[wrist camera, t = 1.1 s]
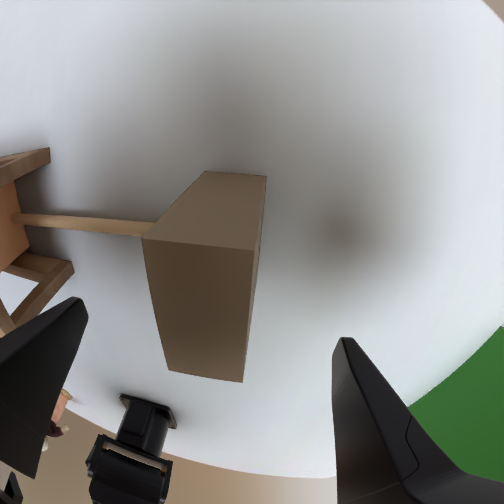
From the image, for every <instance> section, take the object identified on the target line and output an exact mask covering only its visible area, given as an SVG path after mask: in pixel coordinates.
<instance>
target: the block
mask: <svg viewBox="0 0 504 504" xmlns="http://www.w3.org/2000/svg"><path fill="white" fill-rule="evenodd" d="M266 178H267V176H259V175H248V174H236V173H223V172H207V171H205V172H204V173H203V174H202V175H201V176H200V177H199V178H198V179H197V180H196V181H195V182H194V183H193V184H192V185H191V186H190V187H189V188H188V189H187V190H186V191H185V192H184V193H183V194H182V195H181V196H180V197H179V198H178V199H177V200H176V201H175V202H174V203H173V204H172V205H171V206H170V207H169V208H168V209H167V211H166V212H165V213H164V214H163V215H162V216H161V217H160V218H159V219H158V220H157V221H156V222H155V223H153V222H141V221H129V220H116V219H103V218H89V217H75V216H59V215H43V214H25V213H21V212H20V208H19V203H18V198H17V193H16V188H15V183H14V180H13V181H11V182H9V183H8V184H6V185H4V186H2V187H0V273H1V272H2V271H3V270H4V269H5V268H6V267H7V266H8V265H9V264H10V263H11V262H12V261H13V260H15V259H16V258H17V257H18V256H19V255H20V254H21V253H22V252H24V251H25V250H26V249H27V248H28V247H29V246H30V245H29V242H28V238H27V235H26V231H25V228H24V225H32V226H42V227H52V228H62V229H72V230H82V231H91V232H101V233H111V234H120V235H130V236H140V237H142V238H141V239H142V247H143V253H144V260H145V266H146V272H147V278H148V283H149V289H150V294H151V299H152V304H153V308H154V313H155V318H156V322H157V326H158V331H159V335H160V339H161V343H162V347H163V351H164V355H165V358H166V362H167V366H168V369H169V370H170V371H175V372H179V373H184V374H190V375H195V376H201V377H206V378H212V379H219V380H226V381H233V382H241V383H243V375H244V368H245V361H246V354H247V346H248V339H249V332H250V324H251V317H252V310H253V302H254V294H255V287H256V279H257V270H258V260H259V250H260V240H261V230H262V220H263V210H264V199H265V189H266Z"/></svg>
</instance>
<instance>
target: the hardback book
mask: <svg viewBox="0 0 504 504" xmlns="http://www.w3.org/2000/svg"><path fill="white" fill-rule="evenodd" d="M407 408H408V409H409V410H410V412H411V413H412V414H411V415H413V416H414V417H415V418H416V420H417V421H418V422H419V424H420V425H421V426H422V427H423V429H424V430H425V431H426V432H427V434H428V435H429V436H430V437H431V438H432V439H433V440H434V442H435V443H436V444H437V445H438V446H439V447H440V448H441V449H442V450H443V451H444V452H445V453H446V455H447V456H448V457H449V458H450V459H451V460H452V461H453V462H454V463H455V464H456V465H457V466H458V467H459V468H460V469H462V470H463V471H465V472H467V473H469V474H473V475H476V476H480V477H484V478H488V479H492V480H497V481H501V482H504V328H503V327H502V326H500V327H499V329H498V330H497V331H496V332H495V333H494V334H493V335H492V336H491V337H490V338H489V339H488V340H487V341H486V342H485V343H484V344H483V345H482V346H481V347H480V348H479V349H478V350H477V351H476V352H475V353H474V354H473V355H472V356H471V357H470V358H469V359H468V360H467V361H466V362H465V363H464V364H463V365H461V366H460V367H459V368H458V369H457V370H456V371H455V372H453V373H452V374H451V375H450V376H449V377H447V378H446V379H445V380H444V381H443V382H441V383H440V384H439V385H438V386H436V387H435V388H434V389H432V390H431V391H430V392H428V393H427V394H426V395H424V396H423V397H422V398H420V399H419V400H418V401H416V402H415V403H413V404H412V405H410V406H409V407H407Z"/></svg>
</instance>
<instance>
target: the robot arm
mask: <svg viewBox="0 0 504 504" xmlns="http://www.w3.org/2000/svg"><path fill="white" fill-rule="evenodd" d="M87 322H88V313H87V310H86V307H85V305H84V302H83V300H82V299H81V298H78V297H70V298H68V299H67V300H65V301H63V302H61V303H59V304H58V305H56V306H54V307H52V308H50V309H49V310H47V311H45V312H43V313H42V314H40V315H38V316H36V317H35V318H33V319H31V320H29V321H28V322H26V323H24V324H23V325H21V326H19V327H18V328H16V329H14V330H13V331H11V332H9V333H8V334H6V335H4V336H3V337H1V338H0V504H21V503H22V500H23V496H22V493H21V490H20V488H19V485H18V482H17V479H16V476H15V473H13V472H12V471H11V470H12V468H14V469H15V470H17V471H19V472H21V473H23V474H24V475H26V476H28V477H30V478H33V479H35V476H36V472H37V468H38V463H39V459H40V455H41V452H42V448H43V444H44V441H45V437H46V434H47V430H48V427H49V424H50V421H51V418H52V415H53V412H54V409H55V406H56V403H57V401H58V398H59V395H60V393H61V390H62V387H63V385H64V382H65V380H66V377H67V375H68V372H69V370H70V368H71V365H72V363H73V361H74V358H75V356H76V353H77V351H78V348H79V345H80V342H81V339H82V336H83V333H84V330H85V328H86V325H87ZM119 398H120V400H121V401H122V403H123V404H124V406H125V407H126V411H125V414H124V416H123V419H122V421H121V424H120V427H119V429H118V432H117V435H116V438H115V440H114V439H112V438H110V437H107V435H105V434H103V435H100V434H98V437H97V440H96V442H95V444H94V447H93V448H92V450H91V452H90V454H89V456H88V458H87V460H86V462H85V463H86V466H87V467H88V477H90V478H92V480H91V483H90V487H89V493H90V496H91V499H92V501H93V504H164V502H165V500H166V497H167V493H168V488H169V482H170V476H171V470H172V464H173V461H170V460H165V459H162V458H160V456H161V452H162V448H163V445H164V441H165V438H166V434H167V431H168V428H171V429H176V428H177V425H176V423H175V421H174V418H173V416H172V414H171V411H170V409H169V408H167V407H164V406H160V405H156V404H152V403H148V402H145V401H141V400H138V399H135V398H131V397H128V396H125V395H120V397H119ZM332 411H333V422H334V435H335V450H336V469H337V501H338V502H337V504H504V482H501V481H497V480H492V479H488V478H484V477H480V476H476V475H473V474H469V473H467V472H465V471H463V470H462V469H460V468H459V467H458V466H457V465H456V464H455V463H454V462H453V461H452V460H451V459H450V458H449V457H448V456H447V455H446V453H445V452H444V451H443V450H442V449H441V448H440V447H439V446H438V445H437V444H436V443H435V442H434V440H433V439H432V438H431V437H430V436H429V435H428V434H427V432H426V431H425V430H424V429H423V427H422V426H421V425H420V424H419V422H418V421H417V420H416V418H415V417H414V416H413V415H411V414H412V413H411V412H410V410H409V409H408V408H407V406H406V405H405V404H404V402H403V401H402V400H401V399H400V397H399V396H398V395H397V393H396V392H395V391H394V389H393V388H392V387H391V385H390V384H389V383H388V382H387V380H386V379H385V378H384V376H383V375H382V374H381V373H380V371H379V370H378V369H377V367H376V366H375V365H374V364H373V362H372V361H371V360H370V359H369V357H368V356H367V355H366V353H365V352H364V351H363V350H362V348H361V347H360V346H359V345H358V343H357V342H356V341H355V340H354V339H353V338H351V337H341V338H340V339H339V341H338V343H337V345H336V347H335V350H334V352H333V355H332ZM107 447H108V448H111V449H113V450H115V451H117V452H120V453H122V454H124V455H127V456H129V457H131V458H134V459H137V460H139V461H142V462H144V463H142V462H139V461H137V460H134V459H131V458H129V457H127V456H124V455H122V454H120V453H117V452H115V451H113V450H111V449H108V450H107V449H106V448H107ZM145 463H147V464H150V465H153V466H156V467H159V468H161V470H160V469H159V468H156V467H153V466H150V465H147V464H145Z"/></svg>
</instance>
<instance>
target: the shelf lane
mask: <svg viewBox="0 0 504 504" xmlns="http://www.w3.org/2000/svg"><path fill="white" fill-rule="evenodd" d="M48 163H50V153H49V148H43V149H38V150H32V151H27V152H22V153H18V154H13V155H9V156H5V157H1V158H0V187H2V186H4V185H6V184H8V183H9V182H11V181H13V180H15V179H17V178H19V177H21V176H23V175H25V174H27V173H29V172H31V171H33V170H35V169H37V168H39V167H42V166H44V165H46V164H48ZM3 271H4V272H7V273H10V274H13V275H16V276H19V277H22V278H26V279H29V280H32V281H36V282H39V284H38V285H37V286H36V287H35V288H34V289H33V290H32V291H31V292H30V294H29V295H28V296H27V297H26V298H25V299H24V300H23V301H22V303H21V304H20V305H19V306H18V307H17V308H16V310H15V311H14V312H13V313H12V314H11V316H9V314H8V312H7V310H6V309H5V307H4V305H3V303H2V301H1V299H0V338H1V337H3V336H4V335H6V334H8V333H9V332H11V331H13V330H14V329H16V328H18V327H19V326H21V325H23V324H24V323H26V322H28V321H29V320H31V319H33V318H35V317H36V316H38V314H39V313H40V312H41V311H42V309H43V308H44V307H45V306H46V305H47V303H48V302H49V301H50V300H51V299H52V297H53V296H54V295H55V294H56V293H57V292H58V290H59V289H60V288H61V287H62V286H63V285H64V284H65V282H66V281H67V280H68V279H69V278H70V277H71V276H72V275H73V274H74V270H73V267H72V263H71V261H66V260H61V259H56V258H50V257H45V256H40V255H35V254H31V253H26V252H22V253H21V254H20V255H19V256H18V257H17V258H16V259H15V260H13V261H12V262H11V263H10V264H9V265H8V266H7V267H6V268H5V269H4V270H3Z"/></svg>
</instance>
